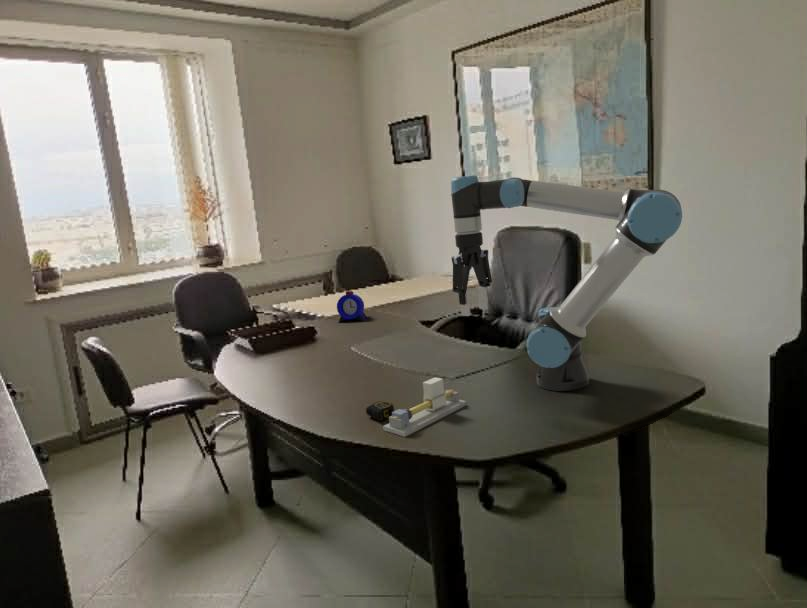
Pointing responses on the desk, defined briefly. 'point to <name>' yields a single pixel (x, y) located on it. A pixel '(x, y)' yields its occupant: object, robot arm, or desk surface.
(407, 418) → the threaded rod slide
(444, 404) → the white rectangular block
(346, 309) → the alarm clock
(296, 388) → the desk surface
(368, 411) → the tape measure
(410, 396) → the desk surface
